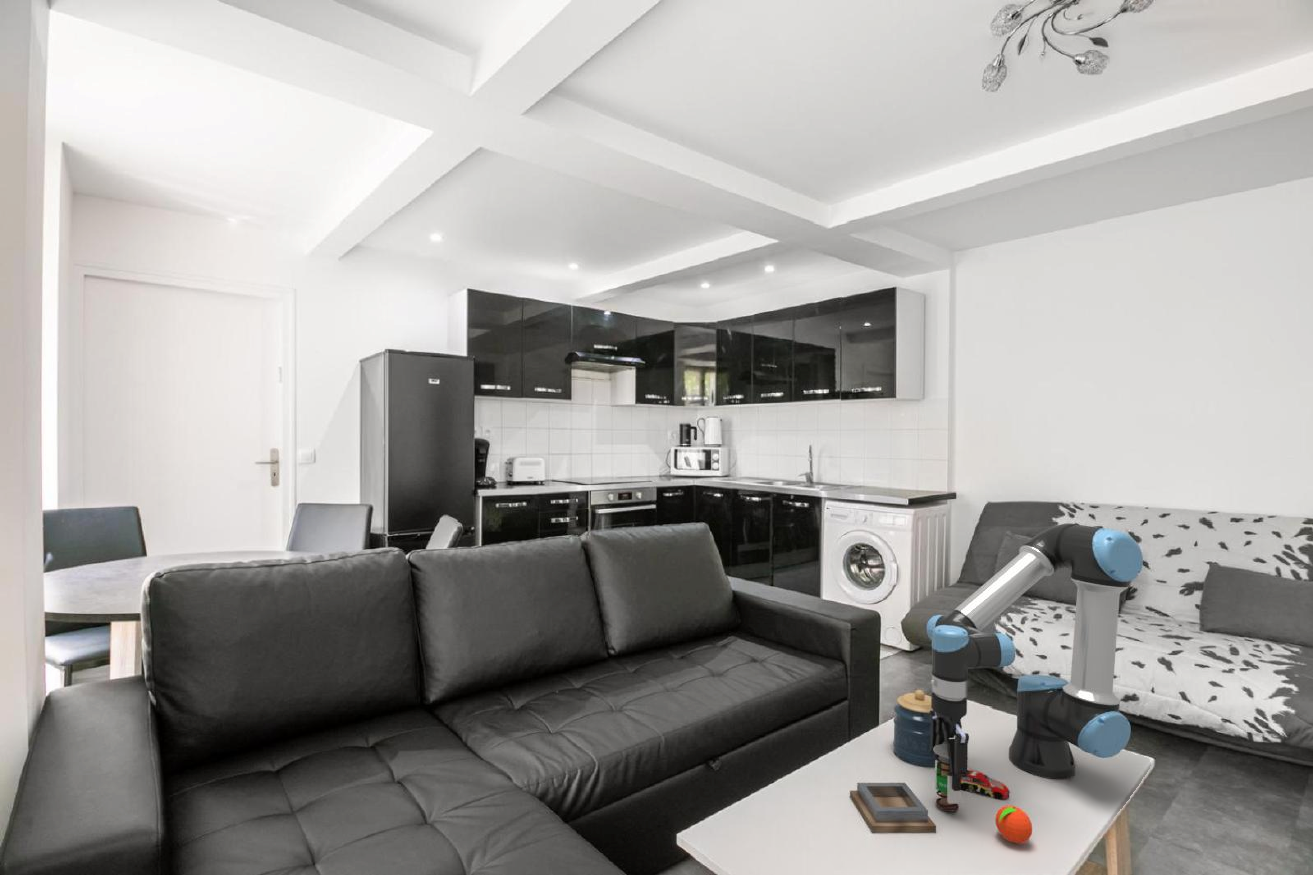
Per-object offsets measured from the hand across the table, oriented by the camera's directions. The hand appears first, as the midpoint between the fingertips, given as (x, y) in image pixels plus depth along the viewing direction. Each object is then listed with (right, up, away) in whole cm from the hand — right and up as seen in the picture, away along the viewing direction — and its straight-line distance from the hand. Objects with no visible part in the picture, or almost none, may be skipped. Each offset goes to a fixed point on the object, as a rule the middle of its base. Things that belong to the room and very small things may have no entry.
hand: (947, 795), depth 148 cm
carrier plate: (-14, -3, -3) cm, 15 cm away
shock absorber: (0, -3, 0) cm, 3 cm away
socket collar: (-14, -1, -3) cm, 14 cm away
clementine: (+8, -3, -12) cm, 15 cm away
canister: (+4, -4, +25) cm, 26 cm away
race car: (+12, -4, +9) cm, 15 cm away
